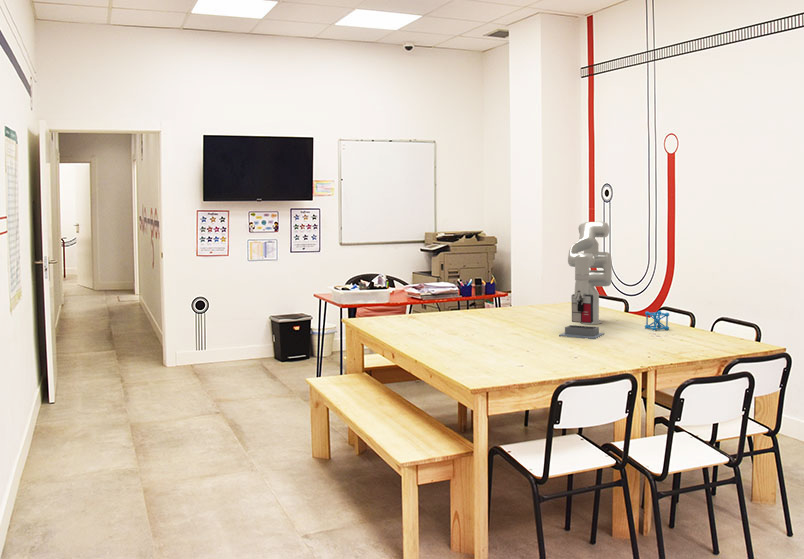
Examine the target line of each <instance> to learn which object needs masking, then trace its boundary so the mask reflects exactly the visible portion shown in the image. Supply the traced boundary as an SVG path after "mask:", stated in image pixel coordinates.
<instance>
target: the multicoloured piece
mask: <svg viewBox="0 0 804 559" xmlns="http://www.w3.org/2000/svg"><path fill="white" fill-rule="evenodd" d="M574 295H575V293H574V294H573V293H572V294H571V322H572V323H580V324H582V323H592V322H593V295H585V298H584V299H583V304H584V312H578V304H577V302H578V301H577V299H575V297H574ZM580 299H582V298H581V297H580ZM581 301H582V300H581Z"/></svg>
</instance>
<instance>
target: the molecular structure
mask: <svg viewBox="0 0 804 559" xmlns="http://www.w3.org/2000/svg"><path fill="white" fill-rule="evenodd" d="M644 315H645V317H646V319H645V320H646V321H645V322H646V323H645V326H644V328H645V329H646V328H648V329H651V330H652V331H653V330H656V331H657V330H665V331H669V329H670V327H669V326H668V322H669V318H668V317H670V313H669V312H665V313H664V312H662V311H661V310H657V311H655V312H649V311H645V313H644ZM649 317H650V318H651V319H653V322H651V323H650V324H648V323H649ZM664 318H666V319H665V325H664V324H663V323H662V322H661V320H662V319H664ZM658 327H659V328H658Z"/></svg>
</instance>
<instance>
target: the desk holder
mask: <svg viewBox="0 0 804 559" xmlns="http://www.w3.org/2000/svg"><path fill="white" fill-rule="evenodd" d="M604 334H605V332H600V326H590V325H589V326H588V325H576V324H575V325H574V324H570V325H567V326H565V327H564V332H563V333H560V334H558V337H561V336H567V337H566V338H573V337H576V339H585V338H588V339H587V340H597V339H599V338H601V337H603V336H604ZM602 335H603V336H602ZM600 336H601V337H600ZM598 337H599V338H598ZM596 338H597V339H596Z"/></svg>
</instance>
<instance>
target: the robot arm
mask: <svg viewBox="0 0 804 559" xmlns="http://www.w3.org/2000/svg"><path fill="white" fill-rule="evenodd" d="M577 229H578V233H579V238H578V240H577V241H575V242H574V243H573V244H572V245H571V246H570V248H569V250H568V255H567V264H568V266H570V267H572V268H574V281H575V284H574V294H575V295H574V297H575V299H577V301H578V302H577V304H578V312H584V304H583V299H584V298H585V295H593V322H592V323H581V324H584V325H600V324H602V320H599V319H600V314H599V313H600V293H599V291H598V290H597V289H596V287H609V286H611V284H612V280H613V279H612V273H613V272H612V270H613V269H612V266H613V264H612V263H613V262H612V255H611V253H609V252H606V251H599V242H598V240H597V239H596V238H607V237H608V236H609V233H610V225H609V224H608V223H607V222H604V221H586V222H583V223H581V224H579V225H578V228H577ZM582 252H583V253H582ZM592 269H593V270H592ZM595 269H598V270H595ZM600 269H603V270H600ZM580 297H581V298H582V299H580ZM581 300H582V301H581Z"/></svg>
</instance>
